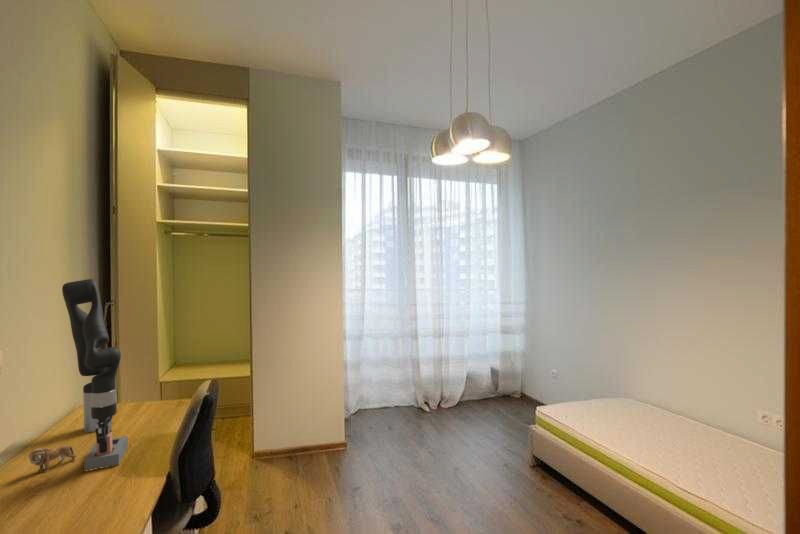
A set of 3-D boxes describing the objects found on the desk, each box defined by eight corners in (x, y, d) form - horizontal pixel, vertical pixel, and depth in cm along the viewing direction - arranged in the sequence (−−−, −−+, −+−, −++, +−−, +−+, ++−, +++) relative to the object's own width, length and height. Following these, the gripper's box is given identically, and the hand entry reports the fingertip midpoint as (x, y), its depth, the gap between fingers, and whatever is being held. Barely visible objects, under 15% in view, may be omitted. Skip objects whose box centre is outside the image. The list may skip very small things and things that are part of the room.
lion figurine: (35, 478, 135) (35, 452, 135) (24, 476, 137) (24, 450, 137) (81, 458, 149) (80, 434, 150) (70, 457, 151) (70, 433, 151)
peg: (99, 461, 146) (99, 434, 147) (112, 459, 148) (112, 432, 148) (96, 466, 143) (96, 438, 143) (110, 463, 145) (109, 436, 145)
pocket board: (97, 451, 155) (97, 441, 155) (127, 445, 160) (127, 435, 160) (84, 471, 139) (84, 460, 139) (118, 465, 144) (118, 453, 144)
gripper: (96, 399, 150) (96, 444, 150) (85, 410, 138) (86, 460, 138) (120, 396, 154) (120, 440, 154) (112, 407, 141) (113, 455, 141)
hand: (104, 449), depth 146 cm, fingers closed on peg, 4 cm apart
